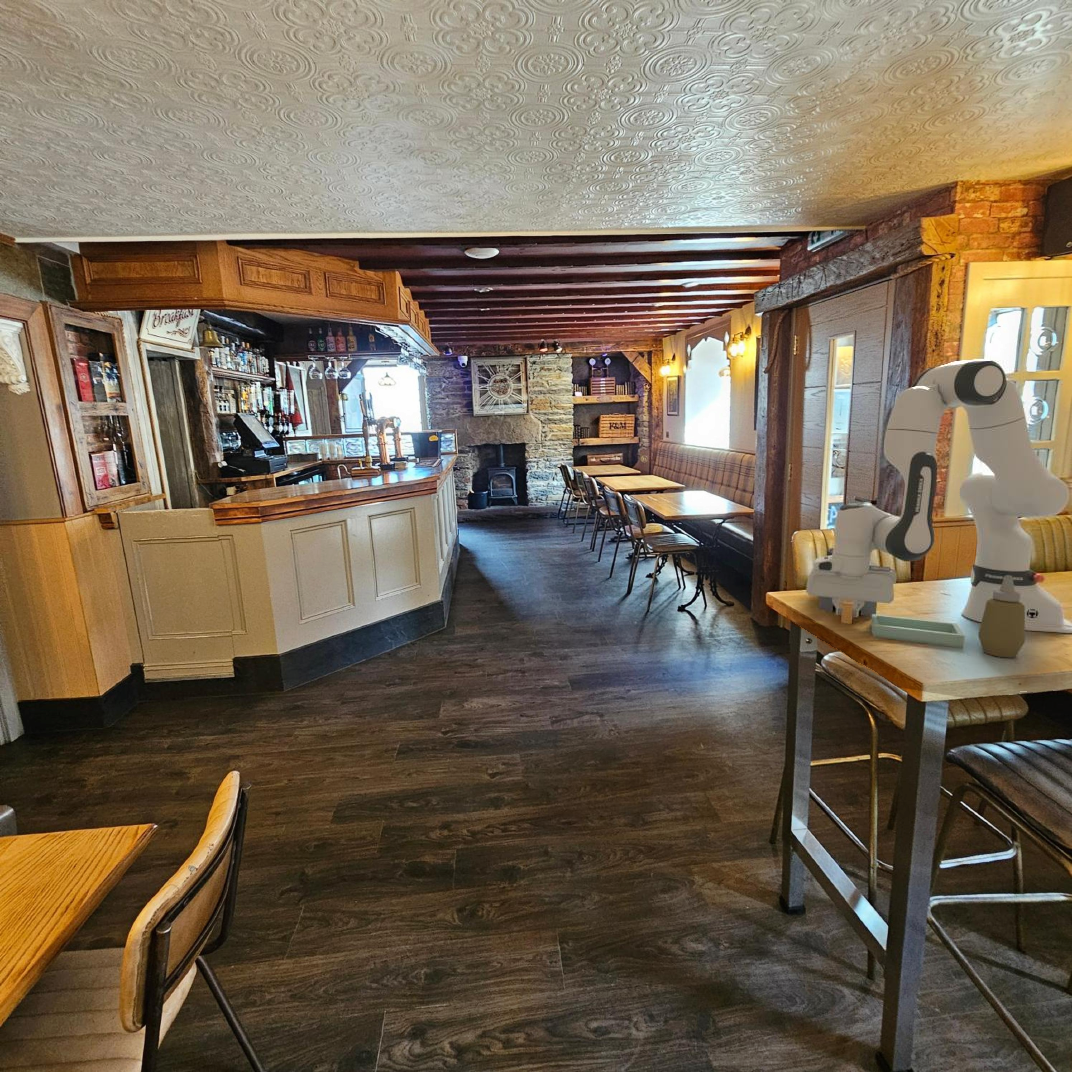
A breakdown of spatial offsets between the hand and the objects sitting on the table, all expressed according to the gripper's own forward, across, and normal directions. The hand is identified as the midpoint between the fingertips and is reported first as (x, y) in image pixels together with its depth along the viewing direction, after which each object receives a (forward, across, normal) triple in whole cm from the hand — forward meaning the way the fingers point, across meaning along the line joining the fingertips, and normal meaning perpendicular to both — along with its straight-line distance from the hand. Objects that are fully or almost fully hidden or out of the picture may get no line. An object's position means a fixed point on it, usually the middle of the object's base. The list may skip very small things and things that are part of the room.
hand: (846, 614), depth 150 cm
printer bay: (+2, 0, -15) cm, 15 cm away
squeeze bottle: (+2, -30, +10) cm, 32 cm away
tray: (+2, -15, +5) cm, 16 cm away
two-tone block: (+2, 0, -5) cm, 6 cm away
